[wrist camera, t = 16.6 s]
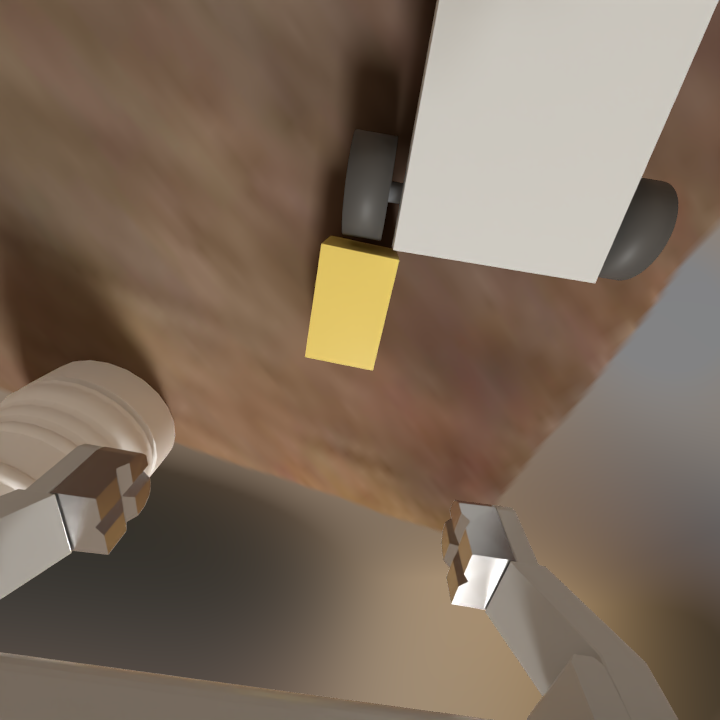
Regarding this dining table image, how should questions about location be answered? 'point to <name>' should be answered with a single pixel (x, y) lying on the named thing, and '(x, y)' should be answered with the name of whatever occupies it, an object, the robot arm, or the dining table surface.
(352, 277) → the tall gold block
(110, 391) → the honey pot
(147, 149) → the dining table surface
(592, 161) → the flatbed trolley
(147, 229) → the dining table surface
